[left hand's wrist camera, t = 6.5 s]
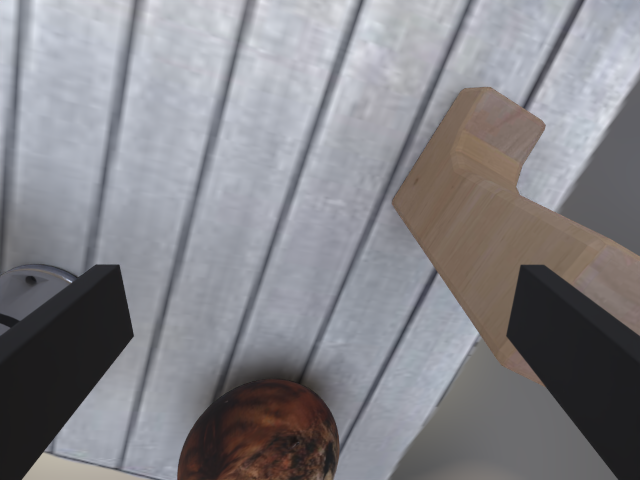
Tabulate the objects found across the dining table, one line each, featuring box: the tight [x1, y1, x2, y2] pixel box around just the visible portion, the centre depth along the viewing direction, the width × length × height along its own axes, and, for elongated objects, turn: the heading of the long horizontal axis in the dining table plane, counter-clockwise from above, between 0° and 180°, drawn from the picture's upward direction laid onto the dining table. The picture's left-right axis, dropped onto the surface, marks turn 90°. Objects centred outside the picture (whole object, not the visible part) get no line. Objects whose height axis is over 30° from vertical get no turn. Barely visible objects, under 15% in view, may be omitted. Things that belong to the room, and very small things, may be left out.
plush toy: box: [177, 379, 339, 480], centre depth 50 cm, size 22×18×20 cm
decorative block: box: [392, 87, 640, 387], centre depth 30 cm, size 8×15×30 cm, turn 151°
